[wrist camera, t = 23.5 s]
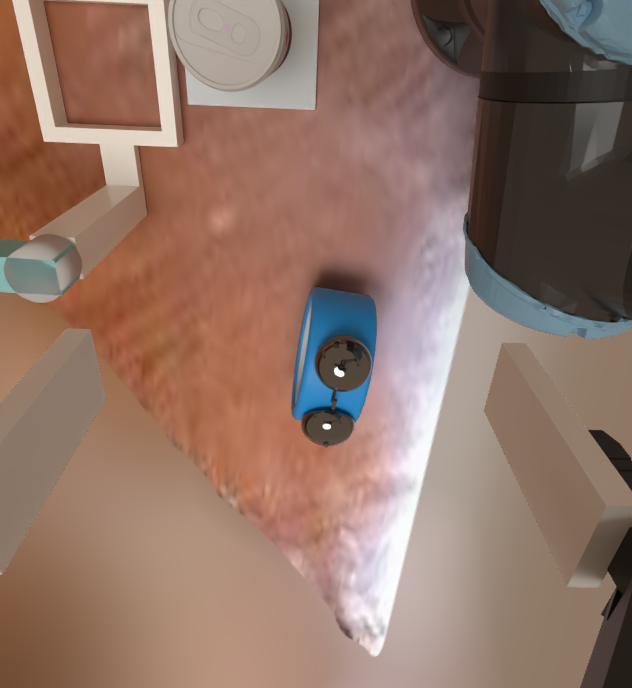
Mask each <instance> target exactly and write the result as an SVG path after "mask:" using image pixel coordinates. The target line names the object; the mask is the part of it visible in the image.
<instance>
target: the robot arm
mask: <svg viewBox="0 0 632 688" xmlns="http://www.w3.org/2000/svg"><path fill="white" fill-rule="evenodd" d="M411 4H412V9H413V13H414V17H415V20H416V23H417V26H418V28H419V31H420V33H421V35H422V37H423V38H424V40H425V42H426V43H427V45H428V46H429V48H430V49H431V50H432V52H433V53H434V54H435V55H436V56H437V57H438V58H439V59H440V60H441V61H442V62H443V63H445V64H446V65H447V66H449V67H450V68H452V69H453V70H455V71H457V72H459V73H462V74H464V75H467V76H471V77H475V78H480V90H479V96H478V104H477V115H476V126H475V137H474V149H473V160H472V171H471V182H470V193H469V204H468V212H467V213H466V214H465V218H464V226H463V230H464V235H465V240H466V247H465V271H466V275H467V277H468V280H469V283H470V285H471V287H472V289H473V291H474V292H475V293H476V294H477V296H478V297H479V298H480V299H481V300H482V301H483V302H484V303H485V304H486V305H488V306H489V307H490V308H492V309H493V310H494V311H496V312H497V313H499V314H501V315H502V316H504V317H506V318H508V319H510V320H512V321H514V322H516V323H518V324H520V325H523V326H525V327H528V328H531V329H534V330H537V331H540V332H544V333H548V334H552V335H559V336H564V337H567V336H569V335H570V334H571V332H572V333H575V334H578V335H579V336H581V337H582V338H584V339H595V338H605V337H610V336H614V335H616V334H620V333H623V332H625V331H627V330H628V329H630V328H631V327H632V0H411ZM105 400H106V398H105V393H104V388H103V384H102V380H101V375H100V370H99V365H98V361H97V356H96V352H95V347H94V342H93V338H92V333H91V329H65V331H64V332H63V333H62V334H61V335H60V336H59V337H58V338H57V340H56V341H55V342H54V343H53V344H52V345H51V346H50V347H49V349H48V350H47V351H46V352H45V353H44V354H43V355H42V357H41V358H40V359H39V360H38V361H37V362H36V363H35V364H34V366H33V367H32V368H31V369H30V370H29V371H28V372H27V374H26V375H25V376H24V377H23V378H22V379H21V380H20V381H19V383H18V384H17V385H16V386H15V387H14V388H13V389H12V391H11V392H10V393H9V394H8V395H7V396H6V397H5V399H4V400H3V401H2V402H1V403H0V575H2V574H3V573H4V571H5V569H6V567H7V566H8V564H9V563H10V561H11V559H12V557H13V555H14V554H15V552H16V551H17V549H18V547H19V545H20V544H21V542H22V541H23V539H24V537H25V536H26V534H27V532H28V530H29V529H30V527H31V525H32V523H33V522H34V520H35V519H36V517H37V515H38V514H39V512H40V510H41V508H42V507H43V505H44V503H45V502H46V500H47V498H48V497H49V495H50V493H51V491H52V490H53V488H54V486H55V485H56V483H57V481H58V480H59V478H60V476H61V475H62V473H63V471H64V470H65V468H66V466H67V464H68V463H69V461H70V459H71V458H72V456H73V454H74V453H75V451H76V449H77V448H78V446H79V444H80V442H81V441H82V439H83V437H84V436H85V434H86V432H87V431H88V429H89V427H90V426H91V424H92V422H93V421H94V419H95V417H96V415H97V414H98V412H99V410H100V409H101V407H102V405H103V404H104V402H105ZM484 412H485V414H486V416H487V418H488V420H489V422H490V424H491V426H492V429H493V430H494V433H495V435H496V437H497V439H498V441H499V443H500V446H501V448H502V450H503V452H504V454H505V456H506V458H507V460H508V463H509V464H510V467H511V469H512V471H513V473H514V475H515V477H516V480H517V482H518V484H519V486H520V488H521V490H522V492H523V494H524V497H525V499H526V501H527V503H528V505H529V507H530V509H531V511H532V513H533V516H534V518H535V520H536V522H537V524H538V526H539V528H540V531H541V532H542V535H543V537H544V539H545V541H546V543H547V545H548V547H549V550H550V552H551V554H552V556H553V558H554V560H555V562H556V564H557V567H558V569H559V571H560V573H561V575H562V577H563V579H564V581H565V583H566V586H567V587H599V586H600V585H601V583H602V581H603V579H604V577H605V575H606V574H607V572H609V574H610V575H611V577H612V579H613V581H614V582H615V584H616V586H617V587H616V589H615V591H614V592H613V594H612V596H611V598H610V599H609V601H608V603H607V605H606V606H605V608H604V610H603V612H602V614H601V615H602V616H604V620H603V623H602V626H601V628H600V631H599V635H598V637H597V640H596V643H595V646H594V649H593V652H592V655H591V658H590V660H589V663H588V666H587V669H586V672H585V675H584V678H583V681H582V684H581V687H580V688H632V461H631V458H630V456H629V455H628V454H627V452H626V451H625V450H624V449H623V447H622V446H621V445H620V443H618V442H617V441H616V440H614V439H613V438H612V437H610V436H609V435H608V434H606V433H605V432H604V431H602V430H587V428H586V427H585V425H584V424H583V423H582V421H581V420H580V418H579V417H578V416H577V414H576V413H575V412H574V410H573V409H572V407H571V406H570V405H569V403H568V402H567V400H566V399H565V398H564V396H563V395H562V394H561V392H560V391H559V389H558V388H557V386H556V385H555V384H554V382H553V381H552V380H551V378H550V377H549V375H548V374H547V373H546V371H545V370H544V369H543V367H542V366H541V365H540V363H539V361H538V360H537V359H536V357H535V356H534V354H533V353H532V352H531V350H530V349H529V348H528V346H527V345H526V344H522V343H502V346H501V349H500V353H499V357H498V360H497V364H496V368H495V371H494V375H493V379H492V383H491V386H490V390H489V394H488V398H487V401H486V405H485V409H484Z"/></svg>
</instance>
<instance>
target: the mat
mask: <svg viewBox="0 0 632 688" xmlns="http://www.w3.org/2000/svg"><path fill="white" fill-rule="evenodd" d="M281 1H282V2H283V4H284V6H285V8H286V10H287V12H288V14H289V18H290V21H291V28H292V40H291V46H290V50H289V53H288V55H287V57H286V59H285V61H284V62H283V64H282V65H281V66H280V67H279V68H278V69H277V70H276V71H275V72H273V73H272V74H271V75H270V76H268V77H267V78H266V79H264V80H263V81H262V82H260V83H259V84H258V85H256V86H254V87H252V88H250V89H247V90H244V91H239V92H225V91H220V90H216V89H213V88H211V87H209V86H207V85H205V84H203V83H202V82H200V81H199V80H197V79H196V78H195V77H194V76H193V75H192V74H191V73H190V72H189V71H188V70H187V69H186V68H185V72H186V84H187V96H188V104H189V105H212V106H235V107H258V108H281V109H303V110H315V102H316V74H317V46H318V18H319V0H281Z"/></svg>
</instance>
